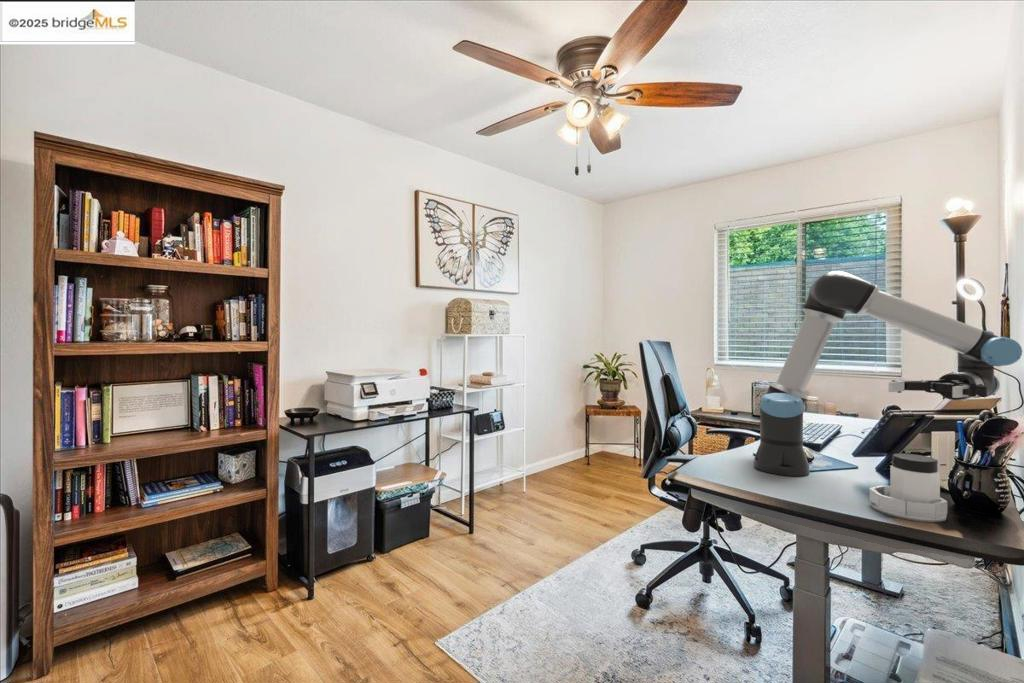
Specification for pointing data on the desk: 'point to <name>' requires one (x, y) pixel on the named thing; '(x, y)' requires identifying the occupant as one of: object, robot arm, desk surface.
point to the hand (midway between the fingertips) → (920, 389)
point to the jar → (915, 478)
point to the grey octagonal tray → (906, 506)
